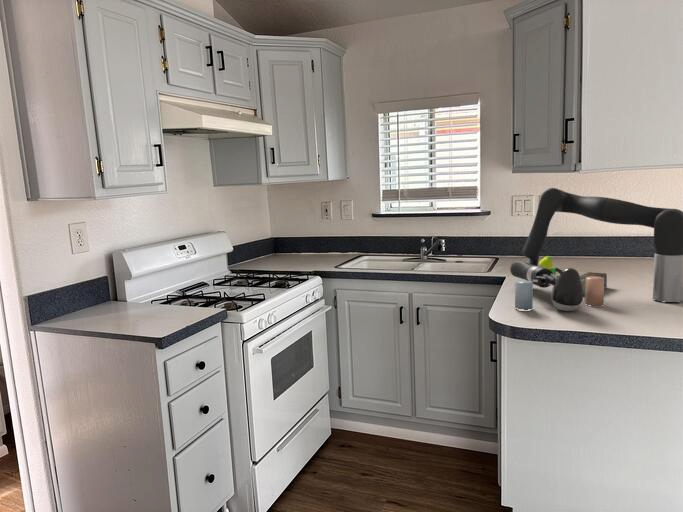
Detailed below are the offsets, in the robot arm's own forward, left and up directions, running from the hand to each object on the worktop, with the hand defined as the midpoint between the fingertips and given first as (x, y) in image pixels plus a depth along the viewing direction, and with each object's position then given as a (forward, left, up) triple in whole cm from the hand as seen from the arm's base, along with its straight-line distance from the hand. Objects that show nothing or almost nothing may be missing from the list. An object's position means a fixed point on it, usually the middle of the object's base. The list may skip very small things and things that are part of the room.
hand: (560, 283), depth 186 cm
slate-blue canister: (+9, +9, -9) cm, 16 cm away
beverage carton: (+3, -32, -9) cm, 34 cm away
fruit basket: (+27, -42, -9) cm, 51 cm away
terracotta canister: (-8, -11, -9) cm, 16 cm away
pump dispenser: (-2, +2, -8) cm, 9 cm away
